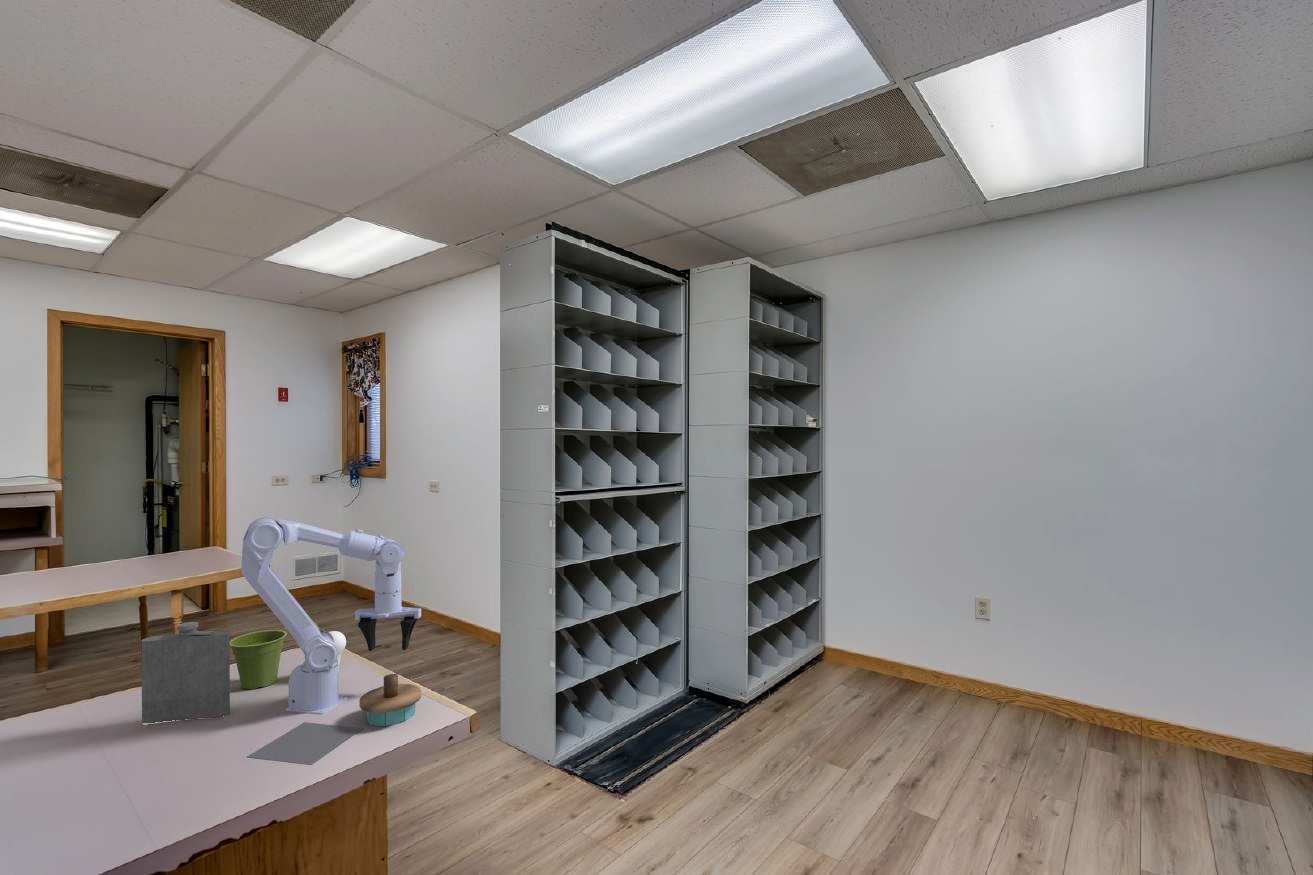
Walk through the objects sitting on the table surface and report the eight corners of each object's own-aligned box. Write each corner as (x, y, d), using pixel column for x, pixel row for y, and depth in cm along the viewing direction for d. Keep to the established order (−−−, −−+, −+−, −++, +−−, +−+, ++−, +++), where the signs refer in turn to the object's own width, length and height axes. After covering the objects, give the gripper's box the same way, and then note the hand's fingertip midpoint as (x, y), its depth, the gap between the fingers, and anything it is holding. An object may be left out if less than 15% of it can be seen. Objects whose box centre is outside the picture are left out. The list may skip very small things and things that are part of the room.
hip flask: (138, 726, 126) (137, 629, 126) (149, 717, 130) (149, 624, 130) (226, 717, 130) (225, 623, 130) (234, 709, 134) (233, 618, 134)
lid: (346, 709, 125) (346, 685, 125) (383, 686, 136) (383, 663, 136) (398, 715, 122) (398, 690, 122) (432, 690, 134) (432, 667, 134)
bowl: (357, 726, 126) (357, 707, 126) (385, 707, 135) (385, 689, 135) (396, 730, 124) (396, 710, 124) (422, 710, 133) (422, 692, 133)
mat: (246, 758, 113) (246, 756, 113) (304, 724, 127) (304, 722, 127) (311, 766, 110) (311, 764, 110) (363, 730, 124) (363, 728, 124)
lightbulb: (351, 671, 155) (351, 627, 155) (336, 680, 149) (336, 635, 149) (329, 670, 156) (328, 627, 156) (313, 679, 150) (313, 635, 150)
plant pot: (241, 677, 152) (240, 631, 152) (294, 672, 155) (293, 628, 155) (219, 696, 141) (219, 647, 141) (277, 691, 143) (276, 643, 143)
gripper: (348, 596, 138) (349, 655, 138) (414, 594, 139) (414, 654, 139) (362, 588, 145) (362, 645, 145) (424, 587, 146) (424, 643, 146)
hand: (388, 648), depth 143 cm, fingers open, 7 cm apart
